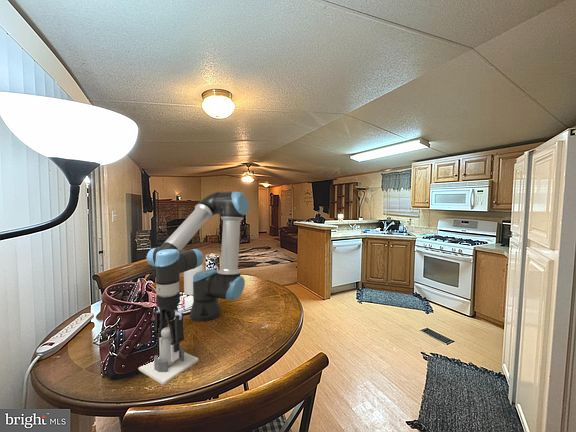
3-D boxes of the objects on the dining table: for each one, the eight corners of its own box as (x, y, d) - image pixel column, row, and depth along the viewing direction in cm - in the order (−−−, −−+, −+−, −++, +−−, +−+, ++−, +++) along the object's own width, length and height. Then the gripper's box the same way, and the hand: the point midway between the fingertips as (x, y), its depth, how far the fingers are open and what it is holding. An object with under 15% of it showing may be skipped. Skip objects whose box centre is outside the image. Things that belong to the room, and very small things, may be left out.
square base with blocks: (138, 369, 84) (138, 358, 84) (174, 349, 96) (174, 338, 96) (162, 385, 77) (162, 372, 77) (198, 360, 89) (198, 349, 89)
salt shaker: (158, 371, 82) (157, 334, 82) (159, 360, 87) (159, 326, 87) (177, 366, 85) (176, 330, 84) (177, 356, 90) (176, 323, 89)
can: (208, 289, 163) (207, 260, 162) (197, 296, 151) (196, 265, 150) (191, 288, 166) (191, 259, 165) (179, 294, 153) (179, 263, 153)
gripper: (142, 291, 87) (143, 354, 88) (175, 302, 77) (176, 372, 78) (162, 285, 93) (163, 343, 94) (194, 295, 84) (195, 359, 85)
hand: (169, 356), depth 86 cm, fingers closed on salt shaker, 6 cm apart
